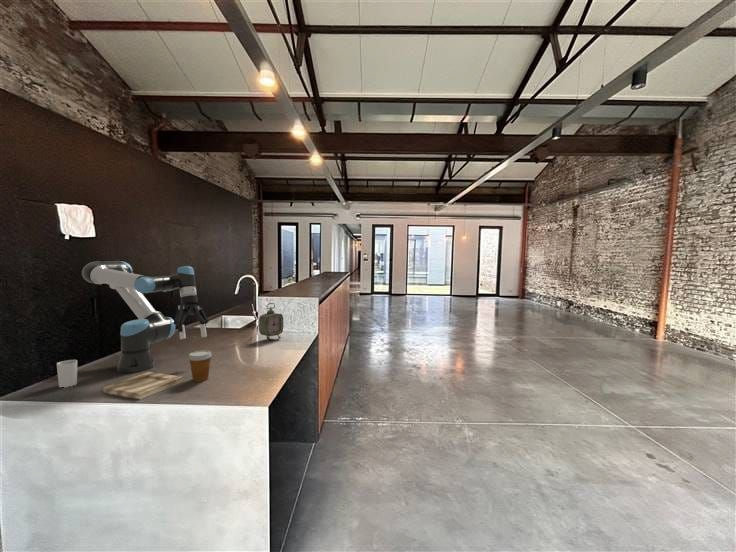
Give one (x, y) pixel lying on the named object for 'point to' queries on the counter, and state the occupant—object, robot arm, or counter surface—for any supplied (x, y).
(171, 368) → the counter surface
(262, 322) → the tabletop clock
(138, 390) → the birch board
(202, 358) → the disposable coffee cup
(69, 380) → the drinking glass
